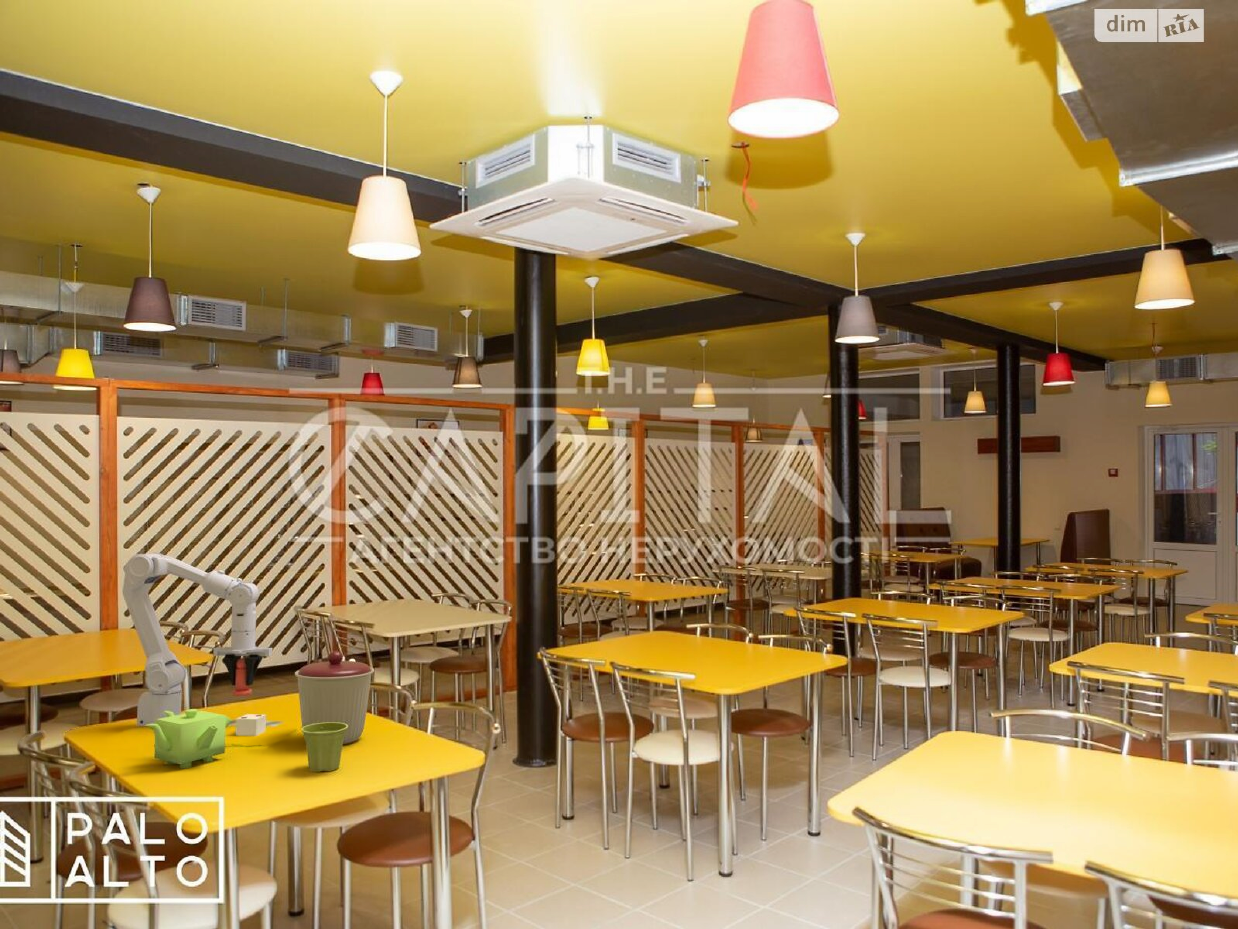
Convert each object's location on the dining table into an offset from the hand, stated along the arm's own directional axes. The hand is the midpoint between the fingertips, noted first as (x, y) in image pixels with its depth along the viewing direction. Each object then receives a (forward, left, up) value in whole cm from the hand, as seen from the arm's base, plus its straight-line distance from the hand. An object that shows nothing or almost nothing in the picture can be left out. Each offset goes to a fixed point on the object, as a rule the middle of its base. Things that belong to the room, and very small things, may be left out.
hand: (242, 684), depth 229 cm
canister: (+28, -12, -11) cm, 32 cm away
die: (+7, -10, -11) cm, 16 cm away
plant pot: (+35, -35, -11) cm, 51 cm away
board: (-1, 0, -11) cm, 11 cm away
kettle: (+4, -32, -11) cm, 34 cm away
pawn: (0, 0, -2) cm, 2 cm away
